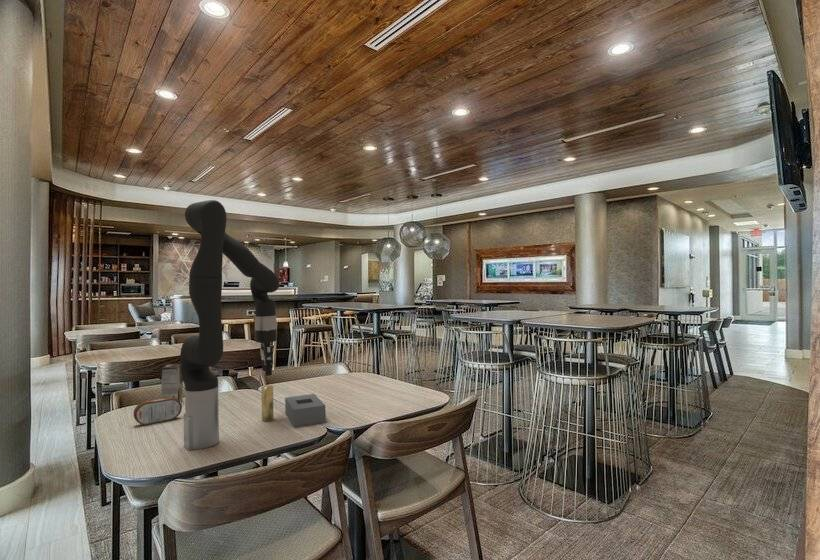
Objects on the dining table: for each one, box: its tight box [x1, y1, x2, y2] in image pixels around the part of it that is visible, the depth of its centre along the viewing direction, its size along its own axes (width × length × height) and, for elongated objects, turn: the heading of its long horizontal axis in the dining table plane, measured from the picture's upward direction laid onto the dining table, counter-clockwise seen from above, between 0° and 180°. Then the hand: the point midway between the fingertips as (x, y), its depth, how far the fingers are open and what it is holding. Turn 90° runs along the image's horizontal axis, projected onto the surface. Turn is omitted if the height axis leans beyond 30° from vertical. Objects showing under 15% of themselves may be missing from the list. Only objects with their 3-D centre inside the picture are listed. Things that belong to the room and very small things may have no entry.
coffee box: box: [160, 363, 184, 403], centre depth 176 cm, size 9×6×16 cm
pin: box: [260, 385, 275, 423], centre depth 152 cm, size 4×4×12 cm
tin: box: [133, 397, 183, 426], centre depth 152 cm, size 15×3×8 cm, turn 129°
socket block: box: [284, 393, 327, 428], centre depth 153 cm, size 18×11×6 cm, turn 25°
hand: (267, 373), depth 152 cm, fingers open, 8 cm apart
